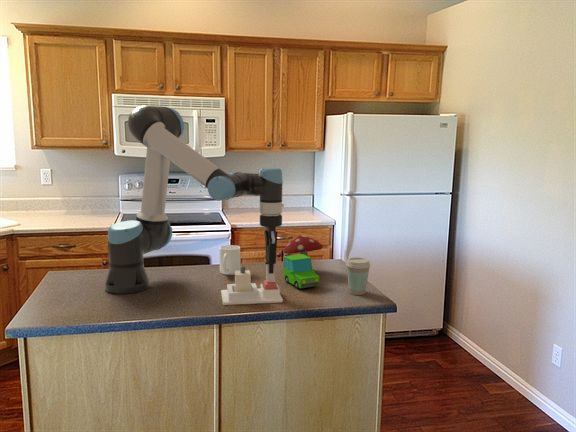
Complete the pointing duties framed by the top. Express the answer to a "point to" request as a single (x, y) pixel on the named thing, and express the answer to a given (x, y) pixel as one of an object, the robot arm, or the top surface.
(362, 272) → the coffee cup
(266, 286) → the switch
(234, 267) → the mug
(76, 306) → the top surface
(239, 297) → the socket plate
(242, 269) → the plug
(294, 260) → the toy car
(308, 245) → the decorative mushroom
